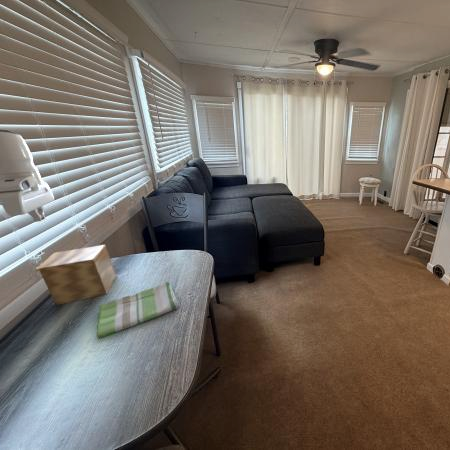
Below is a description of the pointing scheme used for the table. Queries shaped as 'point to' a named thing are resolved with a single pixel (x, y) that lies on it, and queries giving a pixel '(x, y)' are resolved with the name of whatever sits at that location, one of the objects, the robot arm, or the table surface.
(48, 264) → the lid
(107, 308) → the dish towel
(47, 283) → the box
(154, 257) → the table surface
